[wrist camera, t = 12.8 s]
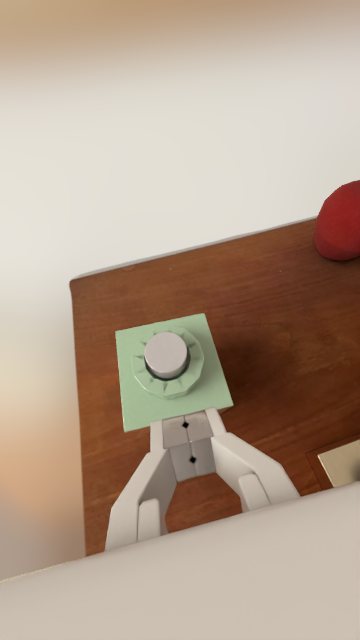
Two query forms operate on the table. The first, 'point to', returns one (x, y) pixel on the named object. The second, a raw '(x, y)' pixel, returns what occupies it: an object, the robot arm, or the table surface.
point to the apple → (339, 224)
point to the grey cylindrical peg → (166, 354)
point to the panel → (337, 462)
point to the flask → (169, 393)
